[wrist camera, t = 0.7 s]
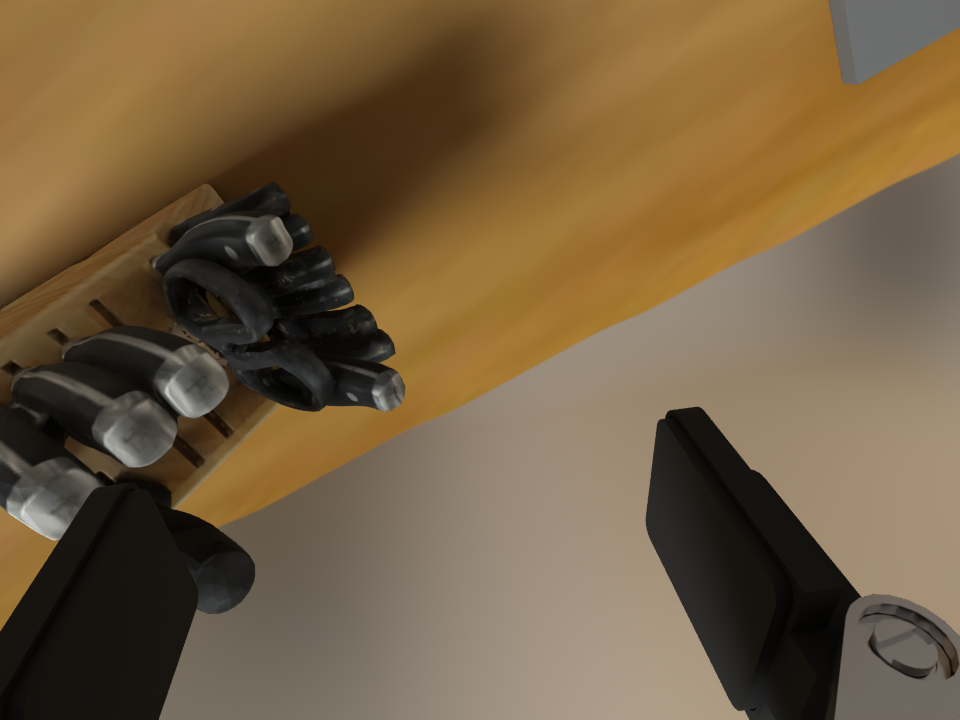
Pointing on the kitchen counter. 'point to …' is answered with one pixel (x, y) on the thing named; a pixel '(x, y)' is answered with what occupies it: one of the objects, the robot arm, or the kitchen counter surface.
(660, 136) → the kitchen counter surface
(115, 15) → the kitchen counter surface
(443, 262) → the kitchen counter surface
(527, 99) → the kitchen counter surface
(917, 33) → the dial board
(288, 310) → the knife block
